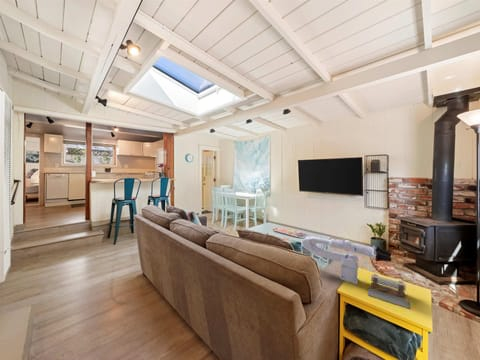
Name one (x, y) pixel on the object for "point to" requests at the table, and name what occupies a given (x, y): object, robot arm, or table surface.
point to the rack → (388, 288)
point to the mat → (388, 298)
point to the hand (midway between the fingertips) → (391, 257)
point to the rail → (388, 282)
